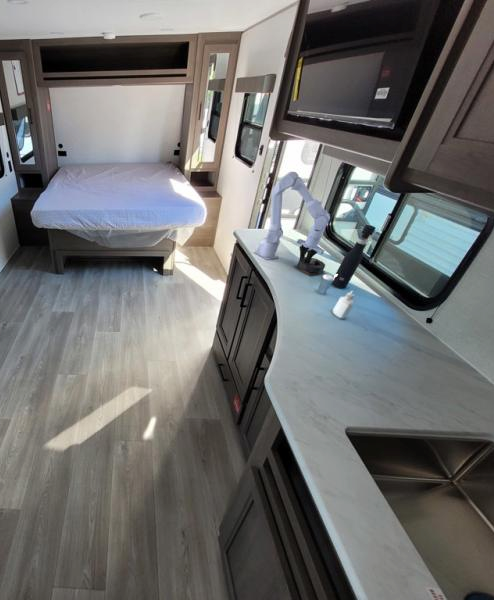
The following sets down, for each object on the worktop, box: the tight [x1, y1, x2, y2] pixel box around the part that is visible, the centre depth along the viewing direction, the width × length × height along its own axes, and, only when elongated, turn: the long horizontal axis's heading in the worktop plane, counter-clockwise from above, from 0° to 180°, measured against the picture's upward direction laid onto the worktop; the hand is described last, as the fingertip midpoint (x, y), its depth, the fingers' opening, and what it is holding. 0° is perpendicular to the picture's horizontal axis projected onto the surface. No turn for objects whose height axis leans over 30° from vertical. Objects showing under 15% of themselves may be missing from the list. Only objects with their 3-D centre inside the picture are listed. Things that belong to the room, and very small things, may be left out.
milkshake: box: [316, 274, 338, 295], centre depth 140 cm, size 4×5×10 cm
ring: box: [296, 256, 326, 273], centre depth 159 cm, size 12×12×3 cm
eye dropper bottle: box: [332, 290, 355, 320], centre depth 126 cm, size 4×6×12 cm
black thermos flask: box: [330, 224, 377, 290], centre depth 141 cm, size 6×6×30 cm
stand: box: [293, 258, 325, 277], centre depth 159 cm, size 10×10×6 cm
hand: (303, 260), depth 163 cm, fingers closed on ring, 2 cm apart
